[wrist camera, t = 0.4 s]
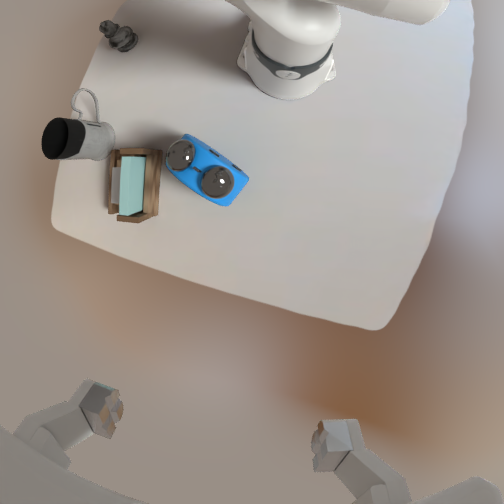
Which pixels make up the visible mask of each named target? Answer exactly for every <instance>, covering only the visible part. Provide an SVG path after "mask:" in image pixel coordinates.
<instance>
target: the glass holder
mask: <svg viewBox="0 0 504 504" xmlns="http://www.w3.org/2000/svg"><path fill="white" fill-rule="evenodd" d="M83 90H85V91H87V92H89V93H90V94H91V95H92V97H93V99H94V101H95V107H96V118H97V122H98V123H95V122H90V121H84V120H81V118H82V115H83V113H82V111H80V110H78V109H76V108H75V105H74V101H75V98H76V96H77V95H78V93H79V92H80V91H83ZM71 106H72V109H73V110H74V111H77V112H79V113H80V114H79V118H78V119H73V120H72V119H66V118H55V119H53V120H52V121H50V122H49V123H48V125H47V126H46V128H45V130H44V132H43V136H42V151H43V153H44V155H45V156H46V157H47V158H48V159H57V160H71V159H91V160H94V161H100V160H103V159H104V158H106V157H107V156H108V155H109V154H110V152H111V150H112V149H113V147H114V143H115V133H114V130H113V128H112V126H111V125H110V124H108V123H106V122H100V118H99V106H98V100H97V98H96V96H95V94H94V93H93V92H92V91H90V90H88V89H84V88H81V89H79V90H78V91H77V92H76V93H75V94H74V95H73V97H72V100H71Z"/></svg>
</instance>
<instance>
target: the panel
mask: <svg viewBox="0 0 504 504" xmlns="http://www.w3.org/2000/svg"><path fill="white" fill-rule="evenodd" d="M146 158H147V157H122V162H121V177H120V202H119V215H126V216H128V215H131V214H133V213H136V212H139V211H141V210H143V204H144V184H145V170H146Z"/></svg>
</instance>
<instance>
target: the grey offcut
mask: <svg viewBox="0 0 504 504" xmlns="http://www.w3.org/2000/svg"><path fill="white" fill-rule="evenodd" d="M120 177H121V167H113V168H112V187H111V203H117V204H119V202H120Z"/></svg>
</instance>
